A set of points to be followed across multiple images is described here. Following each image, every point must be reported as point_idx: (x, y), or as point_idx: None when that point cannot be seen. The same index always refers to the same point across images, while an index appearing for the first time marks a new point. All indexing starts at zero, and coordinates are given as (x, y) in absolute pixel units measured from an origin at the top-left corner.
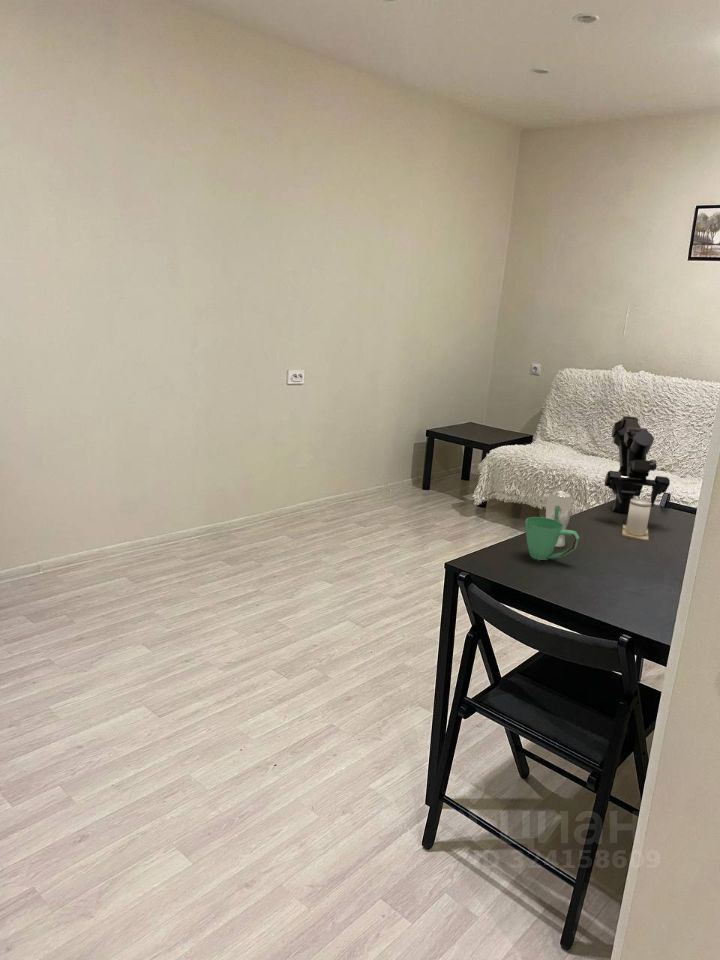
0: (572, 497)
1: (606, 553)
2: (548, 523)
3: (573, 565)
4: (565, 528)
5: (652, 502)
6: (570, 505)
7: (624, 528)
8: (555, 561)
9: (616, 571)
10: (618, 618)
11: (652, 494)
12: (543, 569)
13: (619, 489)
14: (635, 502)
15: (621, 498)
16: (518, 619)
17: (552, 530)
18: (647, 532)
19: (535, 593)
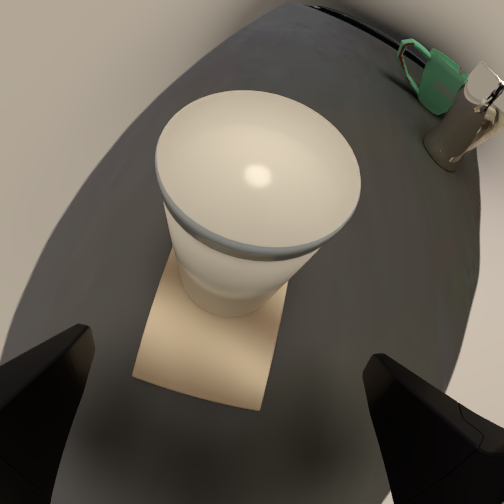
0: (481, 66)
1: (345, 103)
2: (458, 82)
3: (384, 77)
4: (445, 115)
5: (69, 338)
6: (470, 73)
7: (268, 336)
8: (408, 91)
9: (324, 55)
10: (320, 14)
11: (23, 453)
12: None
13: (470, 417)
14: (322, 117)
15: (397, 370)
16: (386, 34)
17: (435, 52)
18: (156, 302)
19: (392, 49)
